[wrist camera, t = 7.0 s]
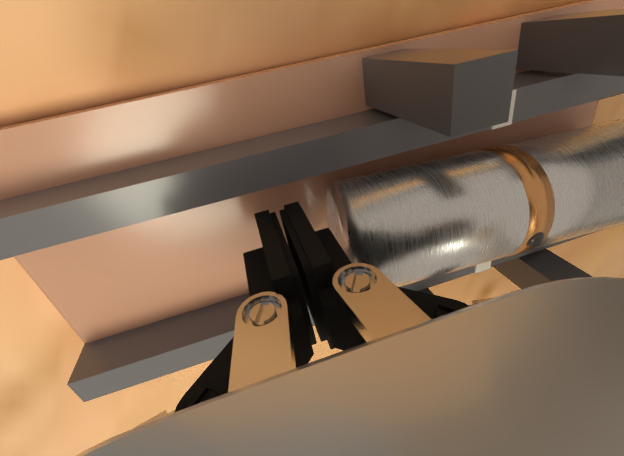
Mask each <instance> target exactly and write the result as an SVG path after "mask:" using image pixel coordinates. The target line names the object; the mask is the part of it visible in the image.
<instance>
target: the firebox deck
mask: <svg viewBox="0 0 624 456" xmlns="http://www.w3.org/2000/svg"><path fill="white" fill-rule="evenodd" d="M623 93H624V0H585V1H581V2H576V3H572V4H567V5H562V6H558V7H553V8H549V9H544V10H539V11H535V12H530V13H526V14H521V15H516V16H512V17H507V18H502V19H498V20H493V21H489V22H484V23H479V24H475V25H470V26H466V27H461V28H456V29H452V30H447V31H443V32H438V33H433V34H429V35H424V36H419V37H415V38H410V39H406V40H401V41H396V42H392V43H387V44H383V45H378V46H373V47H369V48H364V49H360V50H355V51H350V52H346V53H341V54H337V55H332V56H327V57H323V58H318V59H313V60H309V61H304V62H300V63H295V64H290V65H286V66H281V67H277V68H272V69H267V70H263V71H258V72H254V73H249V74H244V75H240V76H235V77H230V78H226V79H221V80H217V81H212V82H207V83H203V84H198V85H194V86H189V87H184V88H180V89H175V90H171V91H166V92H161V93H157V94H152V95H148V96H143V97H138V98H134V99H129V100H124V101H120V102H115V103H111V104H106V105H101V106H97V107H92V108H88V109H83V110H78V111H74V112H69V113H65V114H60V115H55V116H51V117H46V118H41V119H37V120H32V121H28V122H23V123H18V124H14V125H9V126H5V127H0V260H3V259H6V258H10V257H15V259H16V260H17V261H18V262H19V264H20V265H21V266H22V267H23V268H24V270H25V271H26V272H27V273H28V275H29V276H30V277H31V278H32V280H33V281H34V282H35V283H36V284H37V286H38V287H39V288H40V289H41V291H42V292H43V293H44V294H45V295H46V297H47V298H48V299H49V300H50V302H51V303H52V304H53V305H54V307H55V308H56V309H57V310H58V311H59V313H60V314H61V315H62V316H63V318H64V319H65V320H66V321H67V322H68V324H69V325H70V326H71V327H72V329H73V330H74V331H75V332H76V334H77V335H78V336H79V337H80V338H81V340H82V341H83V342H84V343H85V345H84V347H83V349H82V352H81V354H80V356H79V359H78V361H77V363H76V365H75V368H74V370H73V372H72V375H71V377H70V379H69V381H68V384H67V385H68V386H69V387H70V388H71V389H72V390H73V391H74V392H75V393H76V394H77V395H78V396H79V397H80V398H81V399H82V400H83V401H84V402H86V401H89V400H92V399H95V398H98V397H101V396H104V395H107V394H110V393H113V392H116V391H119V390H122V389H125V388H128V387H131V386H134V385H137V384H140V383H143V382H146V381H149V380H152V379H155V378H158V377H161V376H164V375H167V374H170V373H173V372H176V371H179V370H182V369H185V368H188V367H191V366H194V365H197V364H200V363H203V362H206V361H209V360H212V359H215V358H216V357H217V356H218V354H219V353H220V352H221V351H222V350H223V348H224V347H225V346H226V345H227V344H228V343H229V341H230V340H231V339H232V338H233V337H234V330H235V321H236V314H237V311H238V309H239V307H240V306H241V304H242V303H243V302H244V301H245V300H246V299H248V298H249V297H250V294H249V288H248V282H247V276H246V270H245V263H244V257H243V253H245V252H248V251H251V250H255V249H258V248H261V247H263V246H262V242H261V238H260V234H259V230H258V227H257V223H256V219H255V215H254V214H255V213H258V212H262V211H265V210H269V213H272V212H275V213H276V215H277V218H278V220H279V223H280V225H281V228H282V231H283V233H284V236H285V238H286V235H285V231H284V228H283V224H282V220H281V216H280V212H279V210H283V209H284V205H286V204H290V203H294V202H297V201H298V202H299V204H300V206H301V207H302V209H303V211H304V213H305V215H306V216H307V218H308V220H309V222H310V223H311V225H312V227H313V229H314V231H318V230H321V229H325V228H329V224H328V217H327V206H326V197H327V189H328V186H329V184H330V183H331V182H335V181H339V180H344V179H348V178H353V177H358V176H362V175H367V174H371V173H376V172H381V171H385V170H390V169H394V168H399V167H404V166H408V165H413V164H417V163H422V162H427V161H431V160H436V159H440V158H445V157H449V156H454V155H459V154H463V153H468V152H472V151H475V150H479V149H484V148H488V147H493V146H498V145H505V144H509V143H514V142H518V141H523V140H528V139H532V138H537V137H541V136H546V135H550V134H555V133H560V132H564V131H569V130H573V129H578V128H583V127H587V126H591V124H592V121H593V117H594V114H595V110H596V106H597V103H598V100H600V99H604V98H608V97H611V96H615V95H619V94H623ZM602 230H603V229H602ZM598 231H600V230H598ZM595 232H597V231H595ZM591 233H594V232H591ZM591 233H588V234H591ZM588 234H584V235H581V236H577V237H574V238H570V239H566V240H563V241H559V242H556V243H552V244H549V245H545V246H542V247H538V248H535V249H532V250H529V251H526V252H522V253H519V254H515V255H512V256H508V257H504V258H499V259H496V260H492V261H489V262H485V263H482V264H478V265H475V266H471V267H468V268H464V269H460V270H457V271H453V272H450V273H446V274H443V275H439V276H436V277H432V278H429V279H425V280H422V281H418V282H414V283H411V284H407V285H404V286H400V287H401V288H406V289H410V290H414V291H419V292H423V293H427V294H432V295H434V294H433V293H432V292H431V291H430V290H429V289H428V288H429V287H432V286H435V285H438V284H441V283H444V282H447V281H450V280H453V279H456V278H459V277H462V276H465V275H468V274H471V273H475V274H476V273H479V272H482V271H485V270H488V269H490V267H492V266H493V267H494V268H495V269H497V270H498V271H499V272H500V273H502V274H503V275H504V276H506V277H507V278H508V279H509V280H511V281H512V282H513V283H514V284H516V285H517V286H518V287H520V288H521V289H525V288H528V287H531V286H534V285H539V284H543V283H548V282H552V281H557V280H564V279H571V278H583V277H592V276H590V275H589V274H587V273H585V272H584V271H582V270H580V269H579V268H577V267H575V266H574V265H572V264H570V263H569V262H567V261H565V260H564V259H562V258H561V257H559V256H557V255H556V254H554V253H552V252H551V251H549V250H547V249H546V248H549V247H552V246H555V245H558V244H561V243H564V242H567V241H570V240H573V239H576V238H579V237H582V236H585V235H588ZM286 241H287V239H286ZM307 307H308V305H307ZM308 311H309V308H308ZM309 315H310V319H311V323H312V326H314V325H315V324H314V321H313V319H312V316H311V313H310V311H309Z"/></svg>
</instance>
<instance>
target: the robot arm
mask: <svg viewBox="0 0 624 456" xmlns="http://www.w3.org/2000/svg"><path fill="white" fill-rule="evenodd" d="M279 212H280V216H281V220H282V224H283V228H284V231H285V235H286V238H285V236H284V233H283V231H282V228H281V225H280V223H279V220H278V218H277V215H276V213H275V212H272V213H269V210H265V211H262V212H258V213H255V214H254V215H255V219H256V223H257V227H258V230H259V234H260V238H261V242H262V246H263V247H261V248H258V249H255V250H251V251H248V252H245V253H243V257H244V263H245V270H246V276H247V282H248V288H249V294H250V297H249V298H248V299H246V300H245V301H244V302H243V303H242V304H241V306H240V307H239V309H238V311H237V314H236V321H235V330H234V337H233V338H232V339H231V340H230V341H229V343H228V344H227V345H226V346H225V347H224V348H223V350H222V351H221V352H220V353H219V354H218V356H217V357H216V358H215V359H214V360H213V361H212V363H211V364H210V365H209V366H208V367H207V369H206V370H205V371H204V372H203V373H202V374H201V376H200V377H199V378H198V379H197V380H196V382H195V383H194V384H193V385H192V386H191V387H190V389H189V390H188V391H187V392H186V393H185V395H184V396H183V397H182V399H181V400H180V402H179V403H178V405H177V407H176V410H174V411H172V412H170V413H169V414H168V413H167V412H166V410H165V411H163V412H161V413H160V414H158V415H156V416H154V417H153V418H151V419H149V420H147V421H146V422H144V423H142V424H140V425H139V426H137V427H135V428H133V429H131V430H129V431H126V432H124V433H122V434H119V435H117V436H114V437H112V438H110V439H108V440H106V441H104V442H102V443H100V444H98V445H96V446H94V447H91V448H89V449H87V450H85V451H84V452H82V453H80V454H78V455H77V456H624V279H622V278H611V277H583V278H571V279H564V280H557V281H552V282H548V283H543V284H539V285H534V286H531V287H528V288H525V289H521V290H518V291H515V292H511V293H508V294H505V295H502V296H499V297H496V298H489V299H482V300H475V301H472V305H469V306H468V305H467V304H465V303H463V302H460V301H457V300H454V299H449V298H445V297H441V296H436V295H432V294H427V293H423V292H419V291H414V290H410V289H406V288H401V287H397V286H396V285H394V284H393V283H392V282H391V281H390V280H389V279H388V278H387V277H386V276H385V275H384V274H383V273H382V272H381V271H380V270H378V269H377V268H376V267H374V266H372V265H369V264H366V263H351V261H350V260H349V258H348V257H347V255H346V253H345V252H344V250H343V249H342V247H341V246H340V244H339V243H338V241H337V240H336V238H335V236H334V235H333V233H332V232H331V230H330V229H329V228H325V229H321V230H318V231H314V229H313V227H312V225H311V223H310V222H309V220H308V218H307V216H306V215H305V213H304V211H303V209H302V207H301V206H300V204H299V202H298V201H297V202H294V203H290V204H286V205H284V209H283V210H279ZM286 239H287V241H286ZM307 305H308V307H307ZM308 308H309V311H310V313H311V316H312V319H313V321H314V324H315V327H316V329H317V332H318V334H319V337H320V340H321V342H322V341H325V340H327V341H328V343H329V346H330V348H331V349H334V348H338V349H341V350H343V351H342V352H339V353H336V354H333V355H330V356H328V357H325V358H322V359H319V360H317V361H314V362H311V363H308V362H309V361H310V359H311V357H312V356H313V354H314V353H313V349H312V345H313V344H316V338H315V334H314V331H313V327H312V323H311V319H310V315H309V311H308Z"/></svg>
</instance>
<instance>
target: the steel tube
mask: <svg viewBox="0 0 624 456" xmlns="http://www.w3.org/2000/svg"><path fill="white" fill-rule="evenodd" d="M326 206H327V217H328V224H329V229H330V230H331V232H332V233H333V235H334V236H335V238H336V240H337V241H338V243H339V244H340V246H341V247H342V249H343V250H344V252H345V253H346V255H347V257H348V258H349V260H350V261H351V263H366V264H369V265H372V266H374V267H376V268H377V269H378V270H380V271H381V272H382V273H383V274H384V275H385V276H386V277H387V278H388V279H389V280H390V281H391V282H392V283H393V284H394V285H396V286H397V287H400V286H404V285H407V284H411V283H414V282H418V281H422V280H425V279H429V278H432V277H436V276H439V275H443V274H446V273H450V272H453V271H457V270H460V269H464V268H468V267H471V266H475V265H478V264H482V263H485V262H489V261H492V260H496V259H499V258H504V257H508V256H512V255H515V254H519V253H522V252H526V251H529V250H532V249H535V248H538V247H542V246H545V245H549V244H552V243H556V242H559V241H563V240H566V239H570V238H574V237H577V236H581V235H584V234H588V233H591V232H595V231H598V230H602V229H605V228H609V227H612V226H616V225H619V224H623V223H624V119H620V120H615V121H610V122H606V123H601V124H596V125H592V126H587V127H583V128H578V129H573V130H569V131H564V132H560V133H555V134H550V135H546V136H541V137H537V138H532V139H528V140H523V141H518V142H514V143H509V144H505V145H498V146H493V147H488V148H484V149H479V150H475V151H472V152H468V153H463V154H459V155H454V156H449V157H445V158H440V159H436V160H431V161H427V162H422V163H417V164H413V165H408V166H404V167H399V168H394V169H390V170H385V171H381V172H376V173H371V174H367V175H362V176H358V177H353V178H348V179H344V180H339V181H335V182H331V183H330V184H329V186H328V189H327V197H326Z"/></svg>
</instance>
